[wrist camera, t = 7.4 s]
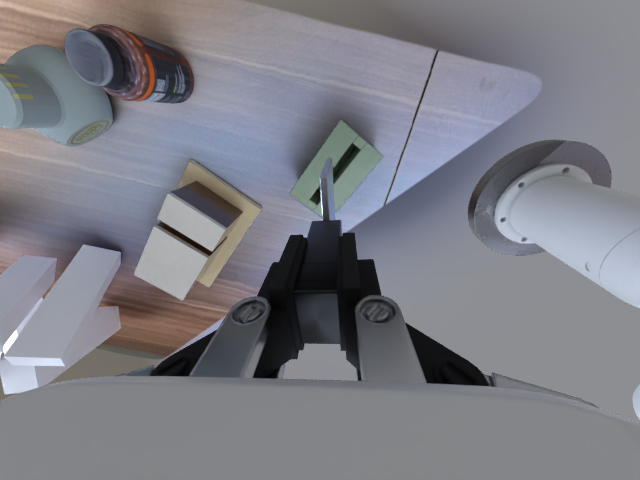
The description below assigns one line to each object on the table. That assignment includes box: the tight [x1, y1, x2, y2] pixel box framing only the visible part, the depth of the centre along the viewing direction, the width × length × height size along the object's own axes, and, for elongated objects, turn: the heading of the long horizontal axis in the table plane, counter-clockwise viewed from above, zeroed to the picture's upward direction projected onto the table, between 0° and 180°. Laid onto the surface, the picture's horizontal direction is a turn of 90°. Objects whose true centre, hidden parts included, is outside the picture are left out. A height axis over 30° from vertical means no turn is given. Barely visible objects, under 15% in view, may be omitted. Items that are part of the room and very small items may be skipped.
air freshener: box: [0, 45, 113, 146], centre depth 27 cm, size 11×8×10 cm
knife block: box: [289, 119, 383, 218], centre depth 30 cm, size 10×6×7 cm, turn 143°
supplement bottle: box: [64, 24, 193, 103], centre depth 25 cm, size 6×6×11 cm
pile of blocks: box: [0, 244, 121, 394], centre depth 38 cm, size 35×30×35 cm
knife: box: [293, 158, 342, 344], centre depth 14 cm, size 7×2×13 cm, turn 5°
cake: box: [134, 160, 262, 301], centre depth 36 cm, size 12×20×8 cm, turn 143°
